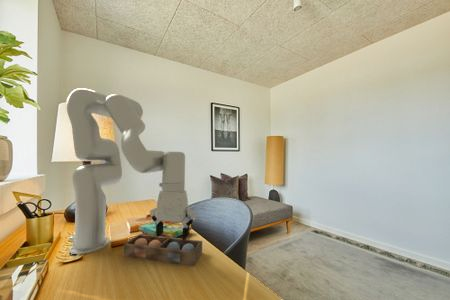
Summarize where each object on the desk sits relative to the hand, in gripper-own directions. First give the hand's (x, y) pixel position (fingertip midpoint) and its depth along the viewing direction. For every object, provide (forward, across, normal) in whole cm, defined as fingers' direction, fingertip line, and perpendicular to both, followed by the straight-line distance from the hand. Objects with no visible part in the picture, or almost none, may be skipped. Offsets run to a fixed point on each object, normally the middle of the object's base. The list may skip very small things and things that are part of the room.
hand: (172, 236), depth 63 cm
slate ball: (+6, 0, 0) cm, 7 cm away
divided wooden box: (+7, -3, 0) cm, 8 cm away
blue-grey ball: (+6, +6, 0) cm, 9 cm away
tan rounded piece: (+7, -12, 0) cm, 14 cm away
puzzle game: (+8, -12, +16) cm, 21 cm away
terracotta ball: (+7, -7, 0) cm, 9 cm away
